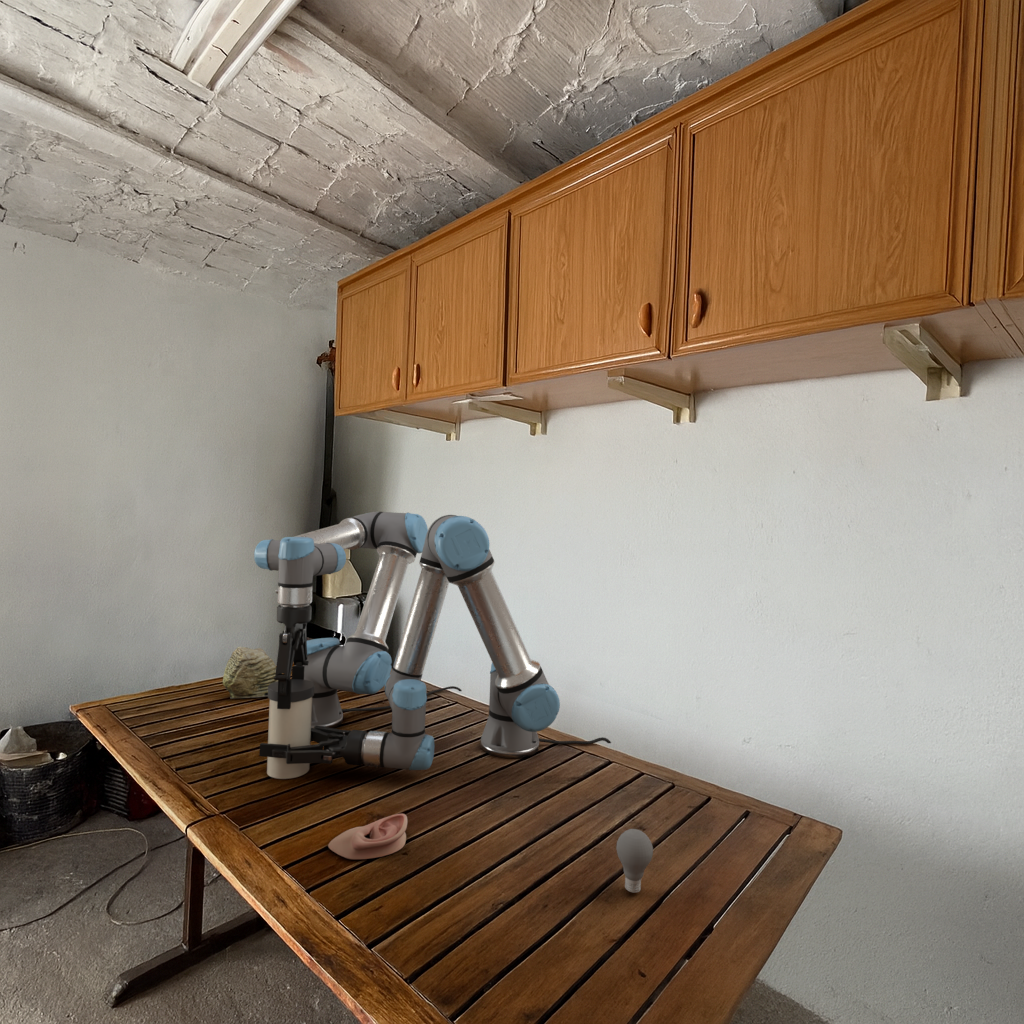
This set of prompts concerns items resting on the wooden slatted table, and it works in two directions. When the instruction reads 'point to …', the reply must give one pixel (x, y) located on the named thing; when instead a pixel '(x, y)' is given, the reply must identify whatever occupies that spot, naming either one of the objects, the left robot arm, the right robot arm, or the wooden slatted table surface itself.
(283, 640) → the left robot arm
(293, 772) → the jar
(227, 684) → the fossil
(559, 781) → the wooden slatted table surface
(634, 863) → the light bulb
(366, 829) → the anatomical model
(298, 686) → the lid
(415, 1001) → the wooden slatted table surface
